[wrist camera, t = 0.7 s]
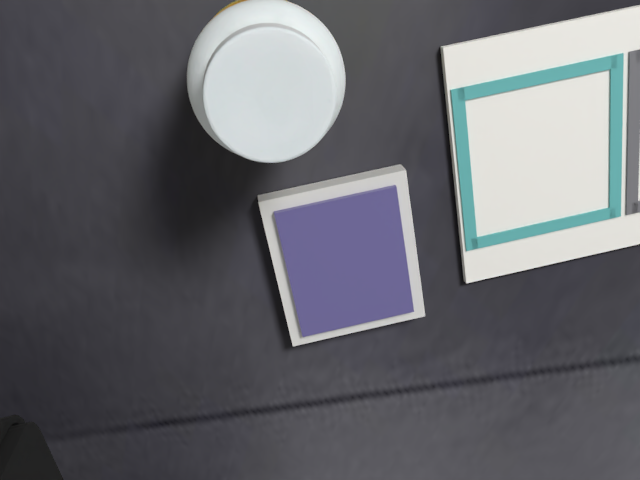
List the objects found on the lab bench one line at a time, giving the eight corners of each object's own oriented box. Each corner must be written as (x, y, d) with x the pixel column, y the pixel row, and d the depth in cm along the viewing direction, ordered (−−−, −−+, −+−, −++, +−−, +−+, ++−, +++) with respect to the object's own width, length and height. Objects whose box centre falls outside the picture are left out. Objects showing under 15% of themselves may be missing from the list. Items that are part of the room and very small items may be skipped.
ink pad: (257, 195, 29) (258, 204, 28) (400, 164, 29) (407, 171, 28) (291, 336, 32) (293, 349, 31) (419, 306, 33) (427, 319, 31)
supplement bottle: (331, 7, 26) (379, 19, 18) (310, 129, 28) (344, 196, 20) (204, -17, 25) (188, -16, 17) (191, 112, 27) (171, 173, 19)
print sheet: (440, 46, 28) (443, 47, 27) (797, -29, 28) (806, -29, 28) (463, 280, 32) (466, 284, 32) (768, 210, 33) (775, 214, 33)
